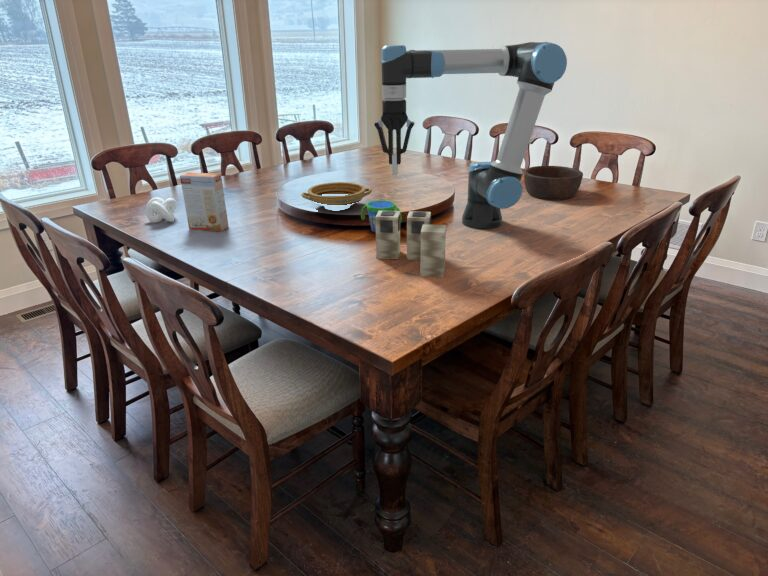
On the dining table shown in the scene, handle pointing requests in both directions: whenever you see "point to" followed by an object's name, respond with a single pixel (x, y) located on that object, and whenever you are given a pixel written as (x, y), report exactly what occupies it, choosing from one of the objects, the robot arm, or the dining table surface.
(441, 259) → the plain block
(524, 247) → the dining table surface
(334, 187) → the collapsible colander
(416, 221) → the marked block 1
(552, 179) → the wooden bowl
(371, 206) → the snack cup
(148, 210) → the white knot sculpture
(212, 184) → the cracker box
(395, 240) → the marked block 2
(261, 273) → the dining table surface
